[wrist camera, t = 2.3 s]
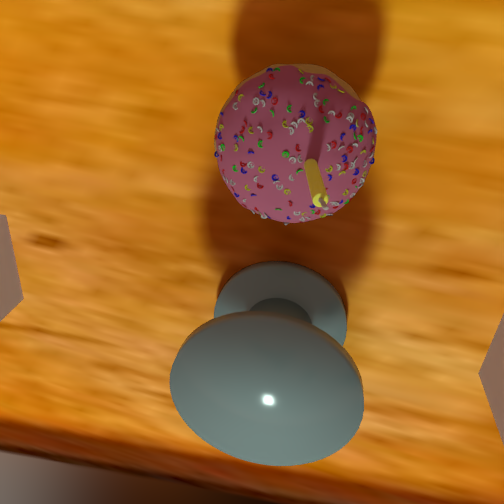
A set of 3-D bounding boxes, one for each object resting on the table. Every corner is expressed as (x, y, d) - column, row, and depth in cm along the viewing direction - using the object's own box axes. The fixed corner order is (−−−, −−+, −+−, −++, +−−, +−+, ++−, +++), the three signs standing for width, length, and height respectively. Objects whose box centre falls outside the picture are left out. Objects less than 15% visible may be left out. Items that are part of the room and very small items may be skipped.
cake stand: (374, 262, 33) (382, 341, 25) (345, 387, 39) (345, 481, 31) (206, 237, 34) (167, 305, 27) (203, 362, 40) (171, 445, 33)
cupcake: (380, 55, 26) (401, 98, 16) (362, 197, 31) (369, 303, 20) (230, 51, 28) (161, 88, 17) (232, 187, 32) (177, 282, 22)
